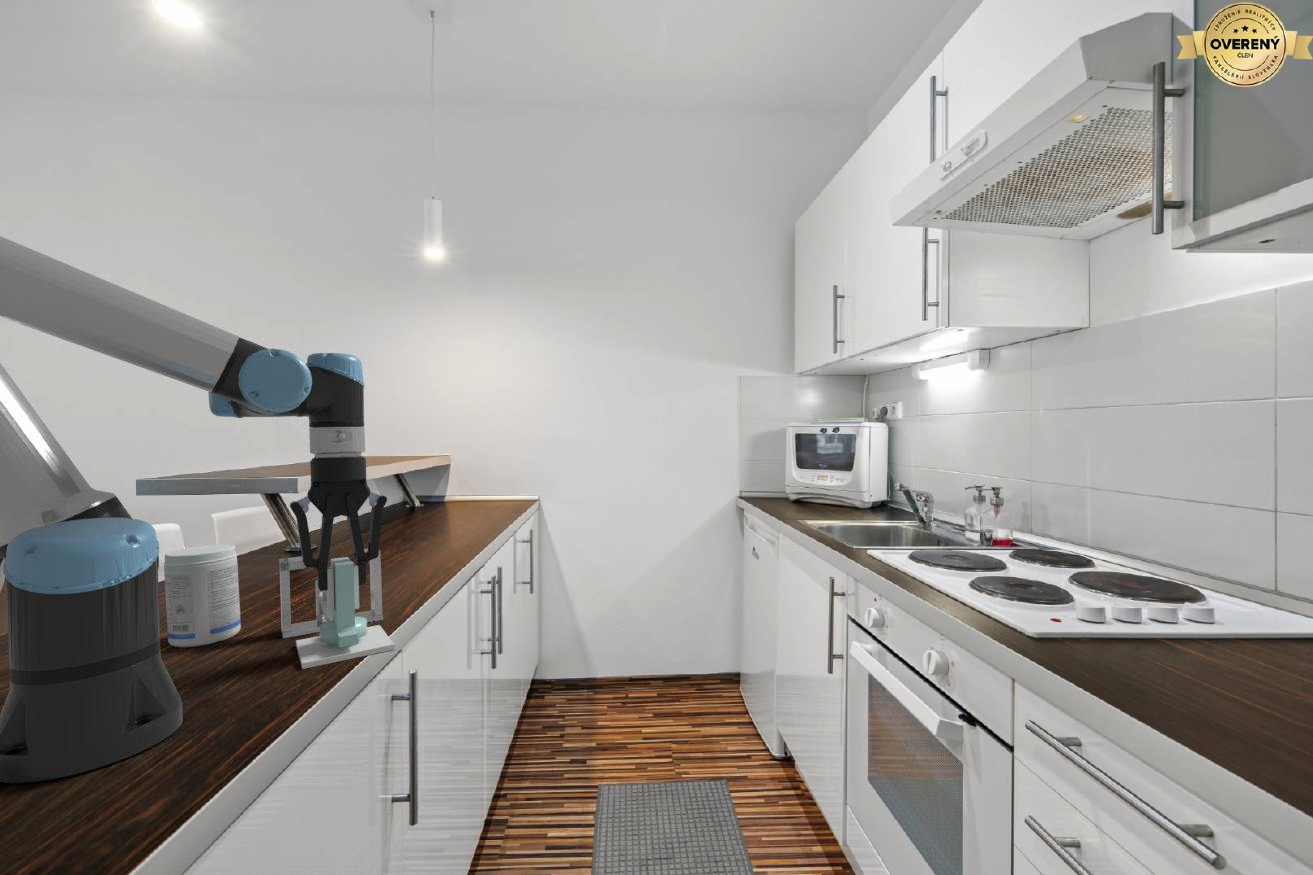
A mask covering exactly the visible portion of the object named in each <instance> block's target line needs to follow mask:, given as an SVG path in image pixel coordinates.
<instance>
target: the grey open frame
mask: <svg viewBox="0 0 1313 875" xmlns="http://www.w3.org/2000/svg"><path fill="white" fill-rule="evenodd" d="M364 551H365V552H367V551H368V547H367V548H364ZM381 558H382V556H381V549H379V555H378V557H377V558H376V559H372V560H370V561H369V585H370V586H369V587H370V609H369V610H365V611H359V612H355V617H364V618H366V619H367V624H368V622H370V623H374V622H373V621H375V622H379V621H380V620H381V621H383V620H384V615H383V590H382V588H383V587H382V586H383V585H382V562H381V561H382V560H381ZM278 560H279V588H280V590H279V591H280V593H279V594H280V623H281V627H280V628H281V635H282V638H283V639H288V638H292V637H298V636H303V635H304V636H305V635H309V634H315V633H320V625H321V624H323V623H325V622H327V621H330V619H332V613H328V611H327V600H326V590H325V591H320V589H319V588H318V578H316V579H315V582H314V583H315V584H314V585H315V612H316V613H315V615H316V619H313V620H309V621H307V620H306V621H302V622H295V623H292V615H291V613H292V612H291V610H292V609H291V581H290V580H291V579H290V578H291V576H290V575H291V573H290V571H293V570H295V571H296V570H302V569H303V570H304V569H307V567H306V566H305V565H304V563H303V558H302V555H301V556H294V557H284V558H279V559H278Z"/></svg>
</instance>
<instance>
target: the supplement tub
mask: <svg viewBox="0 0 1313 875" xmlns="http://www.w3.org/2000/svg"><path fill="white" fill-rule="evenodd" d="M163 565H164V566H163V568H164V569H163V571H164V572H163V574H164V592H165V593H164V594H165V608H166V610H165V611H166V625H167V626H166V627H167V628H166V629H167V641H168V644H169V645H170V646H173V647H176V648H177V647H178V648H191V647H192V648H195V647H200V646H208V645H211V644H213V643H214V644H215V643H217V642H221V641H225V640H227V639H230V638H232V637H234V636H235V635H237V634H238V633H239V632H240V630H241V628H242V627H241V621H242V620H241V604H240V589H239V588H240V586H239V584H240V583H239V568H238V556H237V552H236V545H234V544H210V545H208V544H207V545H201V546H193V547H185V548H181V549H175V550H172V551H169V552H166V553H165V554H164V562H163Z"/></svg>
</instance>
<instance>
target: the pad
mask: <svg viewBox="0 0 1313 875" xmlns="http://www.w3.org/2000/svg"><path fill="white" fill-rule="evenodd" d="M295 646H296V650H297V653H298V658H299V661H300V667H301V669H302V670H306V669H308V668H314V667H320V666H324V665H328V664H333V663H337V662H342V661H347V660H352V659H356V658H362V657H366V656H371V655H375V654H380V653H384V652H390V651H395V643H394V642H393V640H392V639H391V638H390V636H388V634H387V632H386V631H385V630H384V628H383V627H382V626H381V625H380V624H378V625H372V626H367V634H366V635H365V636H363V637H361V638H358V644H356V645H350V646H345V647H339V645H338V643H324V642H321V641H320V635H318V636H313V637H308V638H302V639H296V640H295Z"/></svg>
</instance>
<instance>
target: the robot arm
mask: <svg viewBox="0 0 1313 875" xmlns="http://www.w3.org/2000/svg"><path fill="white" fill-rule="evenodd" d="M0 318H2V319H5V320H8V321H11V322H14V323H17V324H20V325H22V326H24V327H27V328H30V329H32V330H37V331H39V332H41V333H43V334H44V333H45V334H47V335H49V336H53V337H56V338H58V339H61V340H63V341H66V342H69V343H73V344H75V345H77V346H81V347H84V348H86V349H89V350H92V351H94V352H97V353H100V354H103V355H106V356H109V357H110V358H115V359H116V360H120V361H123V362H125V363H127V364H131V365H132V366H133V365H134V366H136V367H139V368H143V369H145V370H148V371H150V372H153V373H156V374H159V375H160V376H161V375H162V376H164V377H167V378H170V379H173V380H175V381H178V382H181V383H184V384H186V385H189V386H192V387H195V388H197V389H201V390H203V391H206V392H208V403H209V405H208V406H209V410H210V412H211V414H213V415H214V416H216V417H225V418H226V417H227V418H237V419H243V418H279V417H281V418H283V417H297V418H303V417H307V418H308V425H309V426H308V427H309V429H308V430H309V437H308V438H309V453H310V454H311V455H314V457H312V458H311V459H310V460H309V463H310V465H309V466H310V467H309V468H310V488H309V489H308V491H307V495H306V496H304V497H302V498H299V499H298V500H296V501H294V500H293V501H291V502H290V503H289V508H290V510H291V511H292V513H293V514H294V516H295V517H296V518H295V519H296V525H297V531H298V538H299V539H298V540H299V544H300V549H301V556H302V558H303V563H304V565H305V566H306V568H313V569H315V570H317V571H316V572H317V579H318V588H319V589H320V591H325V590H326V600H327V611H328V613H334V580H333V568H332V567H331V565H329V566H328V564H329V558H330V557H329V556H330V548H331V541H332V540H331V539H332V532H333V526H334V525H333V524H334V519H335V518H338V517H340V516H342V517H346V519H347V522H348V528H349V534H350V539H351V544H352V549H353V555H354V561H355V562H353V563H354V602H355V610H358V609H360V586H363V585H366V583H367V568H366V567H367V563H368V562H370V560H372V559H376V558H377V557H378V555H379V550H380V541H381V532H382V531H381V528H382V516H383V510H384V508H385V506H386V504H387V501H388V498H387V496H385V495H384V494H383V495H382V494H377V493H374V492H372V491H371V489H370V487H369V485H368V481H367V465H366V464H367V460H366V459H367V458H366V457H365V456H362V454H363V453H364V452H366V435H365V434H366V433H365V432H366V431H365V408H364V406H365V400H364V399H365V398H364V397H365V394H364V392H365V389H364V388H365V383H364V382H365V381H364V373H363V364H362V361H361V359H360V358H359V357H357V355H356V356H355V355H353V354H350V353H341V352H316V353H311V354H309V355H308V357H306V359H307V361H306V362H305V361H304V360H303V359H302V358H301V357H299V356H298V355H297V354H295V353H293V352H291V351H288V350H285V349H280V348H279V349H278V348H273V347H272V348H267V347H265V346H262V345H260V344H257V343H255V342H252V341H250V340H248V339H245V338H242V337H240V336H238V335H236V334H234V333H231V332H229V331H227V330H224V329H222V328H220V327H218V326H215V325H212V324H211V323H208V322H206V321H202V320H201V319H198V318H195V317H193V316H191V315H189V314H186V313H185V312H181V311H179V310H177V309H175V308H172V307H170V306H167V305H165V304H163V303H160V302H158V301H155V300H153V299H150V298H148V297H146V296H144V295H141V294H140V293H136V292H134V291H132V290H129V289H127V288H125V287H122V286H120V285H118V284H116V283H112V282H110V281H109V280H106V279H103V278H101V277H98V276H96V275H94V274H91V273H89V272H86V271H84V270H81V269H80V268H77V267H75V266H73V265H70V264H68V263H66V262H64V261H60V260H59V259H55V258H53V257H51V256H49V255H46V254H44V253H41V252H39V251H36V250H34V249H32V248H29V247H27V246H25V245H22V244H20V243H18V242H15V241H13V240H11V239H8V238H6V237H3V236H1V235H0ZM367 499H368V500H369V501H368V503H369V506H370V507H371V510H370V516H369V517H370V521H369V530H368V531H369V532H368V542H367V548H368V551H367V552H365V551H364V549H365V547H364V541H363V536H362V531H361V525H360V518H359V517H360V516H359V513H358V512H359V510H361V509H362V506H364V503H365V502H366V501H367ZM310 504H312V505H313V506H314V507H315V508H316V510H318V512H320V514H322V515H321V525H320V526H321V527H320V535H319V542H318V550H317V558H314V556H313V549H312V548H313V547H312V543H311V537H310V536H311V535H310V529H309V528H310V527H309V523H308V517H307V513H308V512H309V510H310V506H309V505H310ZM159 555H160V543H159V541H158V539H157V533H156V530H155V528H154V526H153V525H152V524H150V523H149V522H147V521H145V520H141V519H138V518H137V519H136V518H133V517H132V516H131V514H130V513H129V512H128V510H127V509H126V508H125V507H124V505H123V504H122V502H121V501H120V499H119V498H118V497H117V495H116V494H115V493H113V492H108V491H102V490H97V489H95V488H93V487H92V486H90V484H89V483H88V481H87V480H86V479H85V477H84V475H83V474H82V473H81V472H80V471H79V469H78V467H77V466H76V465H75V463H74V462H73V461H72V460H71V457H69V455H68V454H67V452H66V451H65V450H64V448H63V447H62V445H61V444H60V443H59V442H58V440H57V438H56V437H55V436H54V434H53V433H52V432H51V431H50V429H49V428H48V426H47V425H46V423H45V422H44V421H43V419H42V418H41V417H40V415H39V414H38V413H37V411H36V410H35V408H34V407H33V406H32V404H31V403H30V401H29V400H28V398H27V397H26V396H25V394H24V393H23V392H22V390H20V388H19V386H18V385H17V383H16V382H15V381H14V380H13V378H12V377H11V376H10V374H9V373H8V372H7V370H6V368H5V367H4V366H3V364H2V363H1V362H0V557H1V558H2V559H3V561H4V562H3V564H2V573H3V575H4V576H5V580H6V597H7V598H6V599H7V600H6V602H7V603H6V604H7V629H8V630H7V631H8V632H7V633H8V636H7V637H8V663H9V664H8V667H9V691H8V693H7V697H6V698H5V701H4V704H3V707H2V709H1V712H0V782H4V783H3V784H26V783H25V782H29V783H36V782H38V783H39V782H42V781H44V780H45V781H50V780H55V779H60V778H64V777H69V776H73V775H78V774H81V773H85V772H89V771H92V770H95V769H99V768H102V767H104V766H108V765H111V764H114V763H116V762H119V761H122V760H124V759H128V758H129V757H133V756H134V755H136V754H139V753H142V752H143V751H144V752H145V750H147V749H150V748H152V747H153V746H155V745H157V744H159V743H161V742H163V741H164V740H166V739H167V738H169V737H170V736H171V735H173V734H174V733H175V732H176V731H177V730H179V728H180V727H181V725H182V723H183V720H184V719H183V717H184V715H183V703H182V702H183V701H182V698H181V696H180V694H179V692H178V689H177V688H176V686H175V684H174V682H173V679H172V678H171V675H170V674H169V671H168V669H167V667H166V666H165V663H164V661H163V659H162V655H161V653H162V652H161V630H160V629H161V627H160V626H161V625H160V623H161V622H160V599H159V598H160V596H159V594H160V593H159V567H160V556H159ZM8 782H10V783H8ZM13 782H14V783H13ZM16 782H17V783H16ZM19 782H20V783H19ZM21 782H22V783H21Z"/></svg>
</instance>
